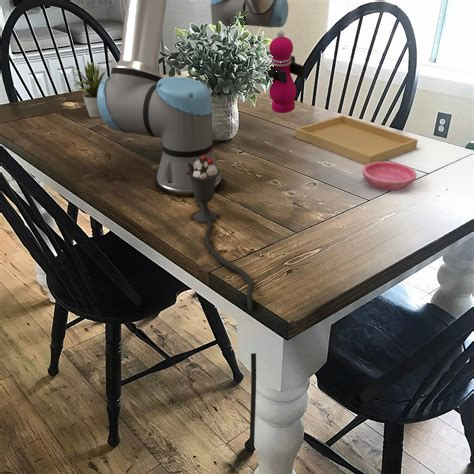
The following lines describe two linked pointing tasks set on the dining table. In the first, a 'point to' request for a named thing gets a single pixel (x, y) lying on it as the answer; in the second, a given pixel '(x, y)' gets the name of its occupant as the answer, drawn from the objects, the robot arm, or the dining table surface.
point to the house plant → (90, 89)
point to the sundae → (203, 184)
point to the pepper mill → (281, 53)
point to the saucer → (389, 175)
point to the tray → (356, 139)
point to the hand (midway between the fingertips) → (294, 74)
